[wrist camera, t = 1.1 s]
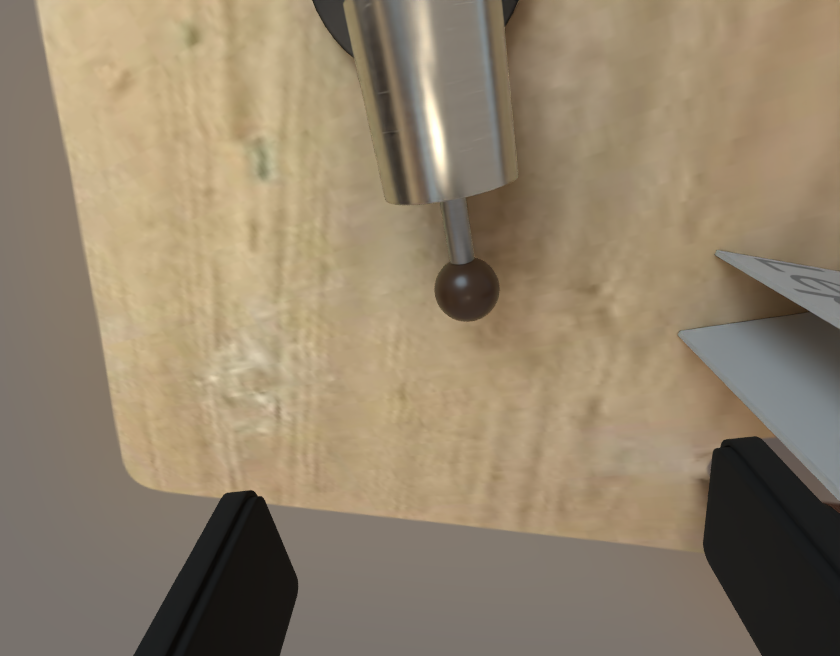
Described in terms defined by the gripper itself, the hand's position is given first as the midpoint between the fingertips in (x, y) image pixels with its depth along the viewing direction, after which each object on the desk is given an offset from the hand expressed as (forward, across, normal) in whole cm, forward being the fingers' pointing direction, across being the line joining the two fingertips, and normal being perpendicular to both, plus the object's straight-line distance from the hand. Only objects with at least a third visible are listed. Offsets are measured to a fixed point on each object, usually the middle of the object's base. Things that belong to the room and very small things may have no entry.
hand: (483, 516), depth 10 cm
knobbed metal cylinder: (+18, 0, -6) cm, 19 cm away
